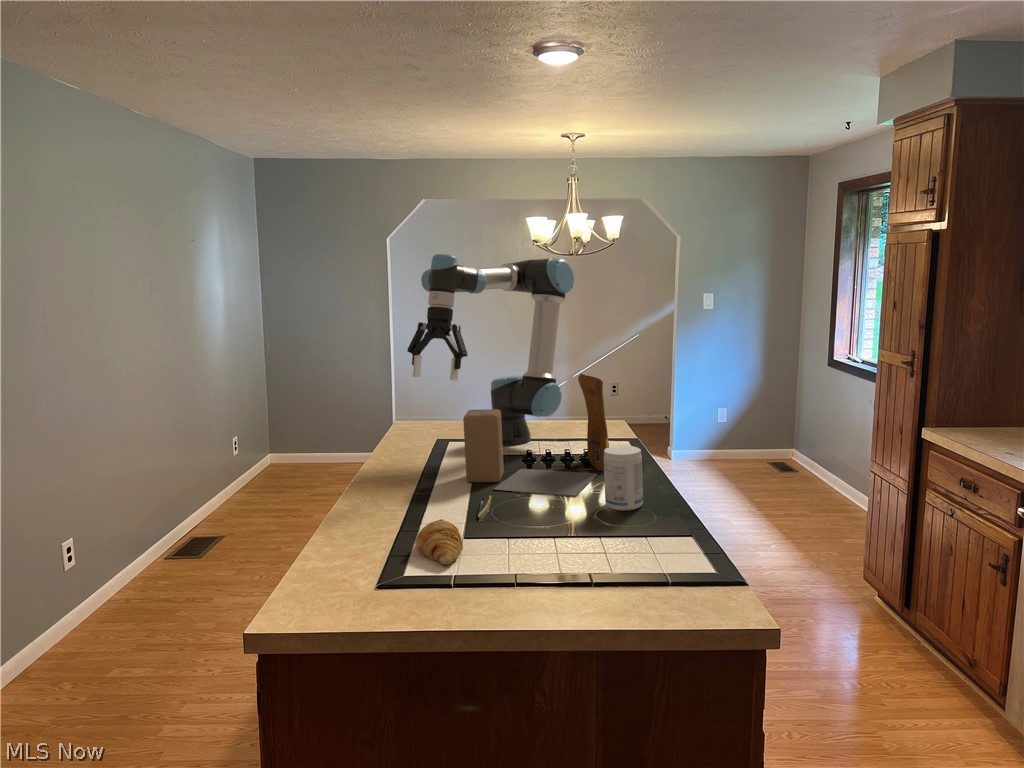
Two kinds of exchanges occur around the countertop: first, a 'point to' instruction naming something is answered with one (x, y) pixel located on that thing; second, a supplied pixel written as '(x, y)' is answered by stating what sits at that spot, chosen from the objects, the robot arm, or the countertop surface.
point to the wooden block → (483, 445)
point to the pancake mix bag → (595, 419)
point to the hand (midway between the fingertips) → (434, 378)
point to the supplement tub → (623, 477)
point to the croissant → (440, 541)
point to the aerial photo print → (487, 507)
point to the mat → (547, 482)
